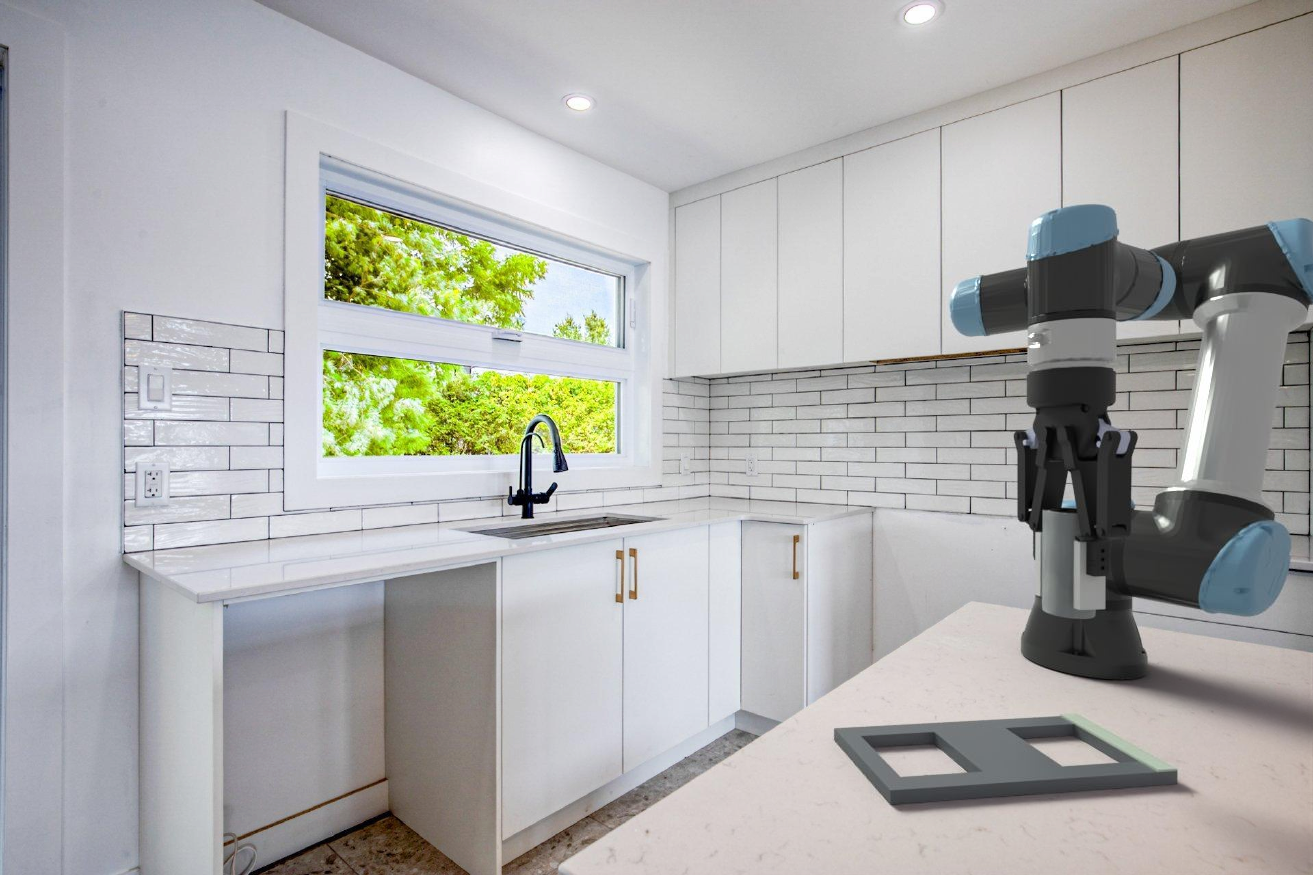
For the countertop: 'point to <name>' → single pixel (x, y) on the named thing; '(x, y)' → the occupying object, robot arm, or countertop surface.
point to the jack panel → (1000, 759)
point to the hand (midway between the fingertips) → (1068, 600)
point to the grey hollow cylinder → (1060, 563)
